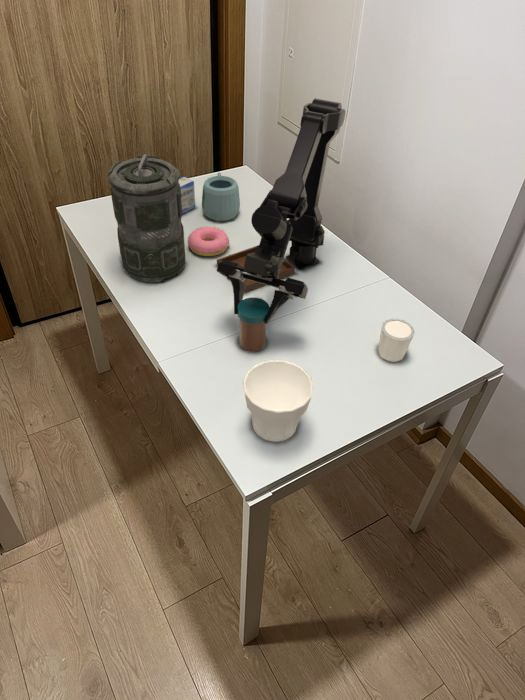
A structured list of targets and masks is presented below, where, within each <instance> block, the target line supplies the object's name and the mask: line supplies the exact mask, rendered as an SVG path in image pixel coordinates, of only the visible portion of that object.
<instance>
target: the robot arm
mask: <svg viewBox="0 0 525 700" xmlns="http://www.w3.org/2000/svg"><path fill="white" fill-rule="evenodd" d="M342 107H343V106H342V103H341V102H338V101H333V100H332V101H331V100H326V99H321V98H316V97H315V98H313V100H312V102H307V103H305V104H304V105H303V109H302V115H301V119H300V128H299V132H298V134H297V137H296V141H295V143H294V145H293V149H292V151H291V154H290V157H289V160H288V162H287V166H286V169H285V171H284V173H283V174H281V176H279V177H278V178H277V179H276V180H275V182H274V184H273V186H272V189H270V190H269V191H268V193H267V194H266V196H265V197H264V199H263V200H262V201H261V204H260V205H259V206H258V207H257V208H256V209H255V210H254V212H253V213H252V215H251V221H250V222H251V225H252V228H253V229H254V230H255V232H256V233H257V234H258V235H259V236H260V241H259V244H258V245H259V246H258V245H256V246H257V248H256V250H255V252H254V253H250V254H247V255H246V259H245V264H244V268H243V267H242V266H240V265H239V264H238V263H234V262H230V261H227V260H222V261H221V262H220V263H219V265H218V267H217V268H216V272H217V273H219V274H220V275H222V276H223V277H226V279H227V280H228V281H230V282H231V286H232V292H233V314H234V315H235V316H238V314H237V310H238V304H239V302H240V301H242V300H244V296H245V294H246V293H245V289H246V286H247V284H245V283H244V280H245V279H248V280H252V281H255V282H259V283H262V284H266V285H267V286H270V287H274V288H276V289H274V293H273V296H272V300H271V303H270V304H269V310H268V312H267V315H266V318H265V322H264V323H265V324H266V325H267V324H268V323H269V322H270V321H271V320H272V319H273V317H274V316H275V314H276V313H278V311H279V310H280V308H281V307H282V306H284V304H285V303H286V302H287V301H288V300H291V301H293V300H294V297H295V298H299V299H302V300H306V298H307V295H308V291H309V288H308V286H307V284H306V283H305V282H304V281H303V280H299V279H296V278H291V277H289V276H287V277H286V278H285V280H284V279H278V278H279V276H278V275H279V272H280V270H281V267H282V262H284V259H286V260H287V261H288V262H289V263H290V264H292V265H293V266H294V267H295V268H298V270H304V269H306V268H309V267H312V266H315V265H317V264H319V263H320V260H319V259H318V258H317V250H318V249H319V247H323V246H324V242H325V230H324V227H323V225H322V220H323V216H322V213H321V211H320V208H319V201H320V197H321V191H322V186H323V180H324V175H325V170H326V165H327V160H328V154H329V150H330V144H331V143H332V141H333V140H334V139H335V138H336V137H337V135H339V133H340V130H341V127H342V126H343V125H344V122H345V118H346V109H345V108H342ZM289 242H291V243H290V244H291V246H289V254H287V255H286V252H287V249H288V245H289ZM285 255H286V256H285ZM257 275H259V276H257ZM260 276H261V277H260ZM267 278H270V279H267ZM271 279H272V280H271ZM266 285H265V286H266Z"/></svg>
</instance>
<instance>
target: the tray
mask: <svg viewBox="0 0 525 700" xmlns="http://www.w3.org/2000/svg"><path fill="white" fill-rule="evenodd" d="M258 246H259V244H258ZM256 248H257V245H255V246H252V247H249V248H246V249H243V250H241V251H238V252H234V253H232V254H228V255H226V256H222V257H221V258H217V259H216V267H217V268H218V265H219V263H220V262H221V261H222V260H227V261H230V262H234V263H238V264H239V265H240V266H242V267H243V268H244V264H245V259H246V255H247V254H250V253H254V252H255V250H256ZM295 273H296V266H295V265H294V264H293V263H291V262H290V261H289V260H288V259H287V258H285V259H284V262H282V267H281V270H280V272H279V275H278V276H279V278H278V279H281V280H283V279H286V278H287V277H289V276H292V275H295ZM257 276H259V275H257ZM260 277H261V276H260ZM267 279H270V278H267ZM271 280H272V279H271ZM244 283H245V284H247V286H246V289H245V293H244V294H246V293H249V292H252V291H254V290H256V289H259V288H261V287H264V286H266V284H262V283H259V282H255V281H252V280H248V279H245V280H244Z"/></svg>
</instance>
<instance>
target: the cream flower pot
mask: <svg viewBox="0 0 525 700" xmlns="http://www.w3.org/2000/svg"><path fill="white" fill-rule="evenodd" d="M242 386H243V391H244V397H245V403H246V408H247V409H248V411H249V412H250V416H251V420H252V428H253V430H254V432H255V433H256V435H258V437H260V438H261V439H263V440H265V441H268V442H284V441H286V440H288V439H290V438H291V437H292V436H293V435H294V434H295V433H296V431H297V427H298V425H299V423H300V420H301V419H302V417H303V415H304V414H305V413H306V412H307V410H308V407H309V405H310V402H311V400H312V396H313V392H314V388H315V387H314V384H313V380H312V377H311V376H310V374H308V372H306V371H305V369H304V368H302V367H301V366H299V365H298V364H295V363H293V362H292V361H286V360H282V359H274V360H273V359H272V360H265V361H263V362H260V363H257V364H256V365H253V367H252V368H251V369H249V370H248V371H247V372H246V373H245V375H244V379H243V382H242Z"/></svg>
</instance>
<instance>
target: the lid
mask: <svg viewBox="0 0 525 700" xmlns="http://www.w3.org/2000/svg"><path fill="white" fill-rule="evenodd" d="M269 307H270V304H269V303H268V302H267V301H266V300H264V299H263V298H260V297H253V296H251V297H246V298H243V300H242V301H240V302H239V304H238V310H237V317H238V320H239V319H240V320H241V321H243V322H245V323H248V324H260V323H263V322H265V318H266V315H267V312H268V310H269Z"/></svg>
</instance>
